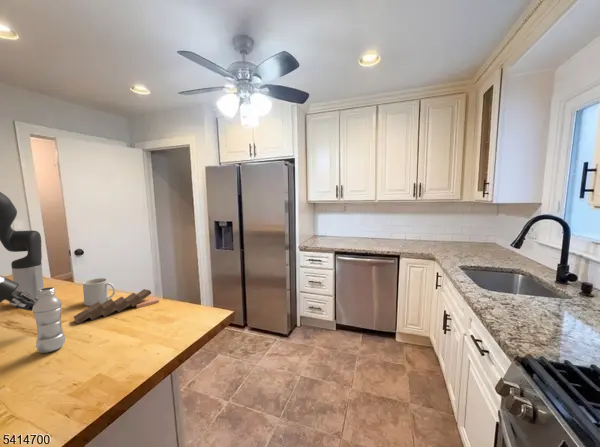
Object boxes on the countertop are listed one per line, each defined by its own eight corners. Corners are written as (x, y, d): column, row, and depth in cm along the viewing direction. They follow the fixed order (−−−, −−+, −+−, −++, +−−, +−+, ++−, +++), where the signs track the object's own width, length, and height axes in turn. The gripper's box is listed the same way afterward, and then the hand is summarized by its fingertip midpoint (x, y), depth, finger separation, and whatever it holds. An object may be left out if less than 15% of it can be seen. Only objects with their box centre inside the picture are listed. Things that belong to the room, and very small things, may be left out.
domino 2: (89, 317, 100) (113, 301, 105) (87, 313, 103) (111, 298, 109) (92, 320, 100) (116, 304, 106) (89, 316, 104) (113, 301, 109)
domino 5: (131, 303, 111) (149, 290, 118) (125, 302, 113) (143, 289, 120) (133, 306, 112) (151, 293, 119) (127, 305, 114) (145, 292, 121)
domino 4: (116, 309, 107) (137, 294, 113) (112, 306, 110) (133, 292, 116) (118, 312, 107) (139, 298, 113) (114, 309, 110) (135, 295, 117)
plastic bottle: (70, 346, 83) (65, 286, 81) (44, 358, 77) (38, 294, 75) (58, 342, 85) (53, 284, 83) (31, 353, 79) (25, 291, 77)
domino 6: (136, 305, 112) (159, 299, 118) (133, 302, 115) (155, 296, 122) (137, 309, 112) (159, 303, 119) (133, 306, 116) (155, 300, 122)
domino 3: (102, 314, 103) (125, 299, 108) (99, 310, 106) (121, 296, 112) (104, 317, 103) (127, 302, 109) (101, 313, 107) (124, 299, 112)
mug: (79, 303, 116) (78, 282, 115) (102, 296, 125) (101, 276, 124) (94, 308, 112) (93, 286, 111) (117, 300, 120) (115, 279, 119)
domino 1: (75, 321, 97) (101, 304, 102) (73, 316, 100) (98, 301, 105) (78, 324, 97) (103, 308, 103) (76, 319, 101) (101, 304, 106)
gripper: (2, 281, 80) (58, 307, 90) (5, 273, 89) (56, 297, 99) (-23, 302, 77) (38, 327, 87) (-17, 291, 86) (38, 314, 96)
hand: (48, 311), depth 93 cm, fingers closed
